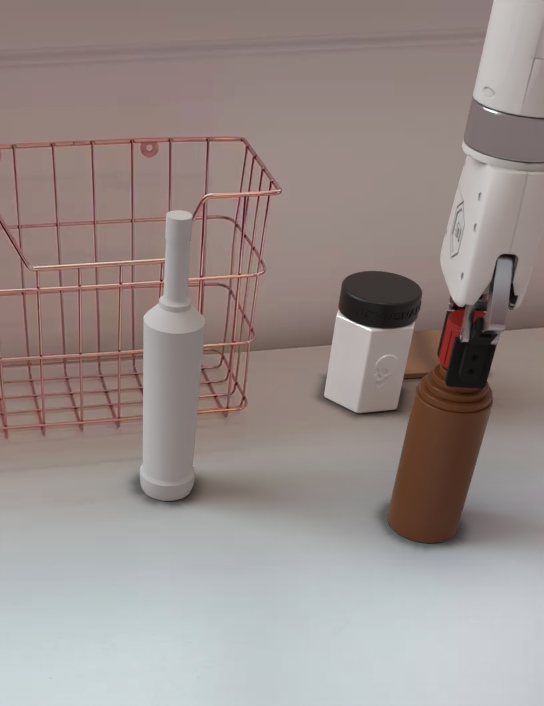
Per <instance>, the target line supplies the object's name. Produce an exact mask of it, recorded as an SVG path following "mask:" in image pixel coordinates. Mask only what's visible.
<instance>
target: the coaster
mask: <svg viewBox="0 0 544 706" xmlns="http://www.w3.org/2000/svg"><path fill="white" fill-rule="evenodd" d="M442 330H443V328H442V329H441V328H440V329H425V330H414V331H413V336H412V341H411V345H410V350H409V355H408V360H407V364H406V369H405V374H404V379H403V380H405V379H417V378H423V377H424V376H425V375H427V374H428V373H429V372H430V371H431V370H433V369H434V368H435V367H436V366H437V365H439V364H440V362H439V359H438V355H437V351H438V347H439V342H440V338H441V334H442Z"/></svg>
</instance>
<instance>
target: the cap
mask: <svg viewBox="0 0 544 706" xmlns="http://www.w3.org/2000/svg"><path fill="white" fill-rule="evenodd" d="M452 311H453V312H451V313H450V314H449V315H448V320H447V324H446V327H445V331H444V336H443V340H442V344H441V348H440V353H439V357H438V359H439V362H440V364H441V365H442V366H443V367H445V368H448V364H449V360H450V356H451V352H452V347H453V343H454V339H455V337H460V332H461V327H462V322H463V317H464V312H465V309H460V310H452ZM485 314H486V311H484V312H482V311H475V316H474V320H473V323H474V321H475V320H476V319H477V318H478V317H483V316H484V315H485Z"/></svg>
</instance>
